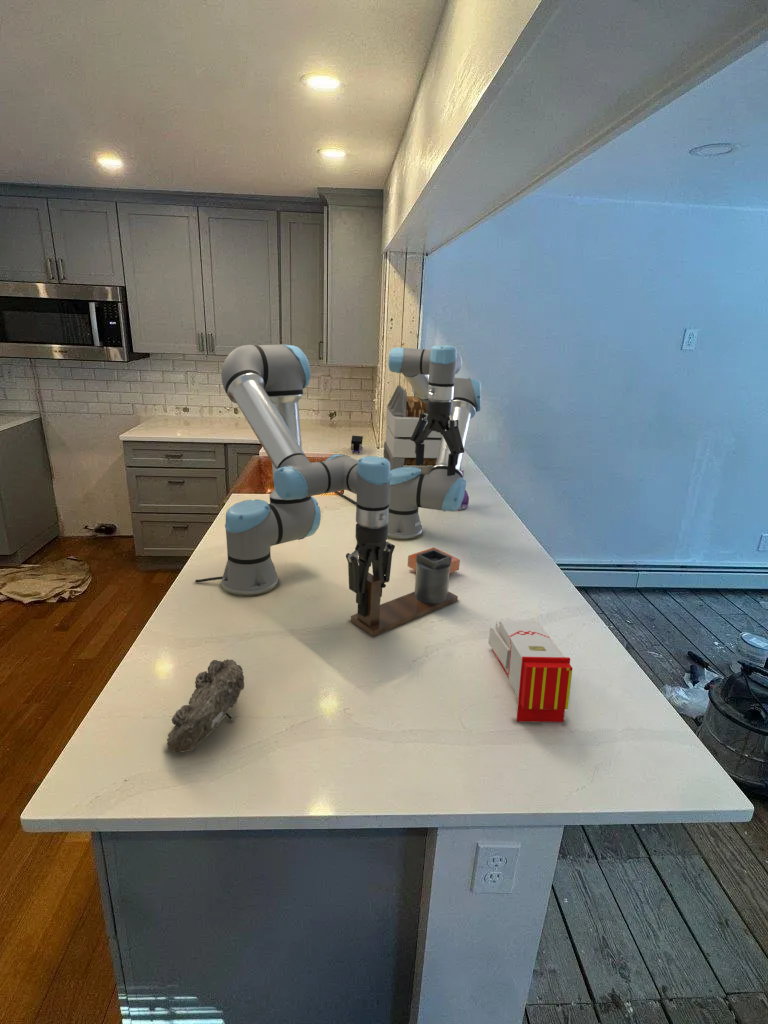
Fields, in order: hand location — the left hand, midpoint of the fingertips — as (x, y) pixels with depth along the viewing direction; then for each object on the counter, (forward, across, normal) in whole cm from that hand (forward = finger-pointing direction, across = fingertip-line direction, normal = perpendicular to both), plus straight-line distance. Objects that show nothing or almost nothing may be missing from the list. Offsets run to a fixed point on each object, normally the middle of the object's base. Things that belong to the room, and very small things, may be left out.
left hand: (368, 611), depth 140 cm
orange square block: (+4, +35, +12) cm, 37 cm away
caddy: (+4, +13, 0) cm, 14 cm away
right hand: (-25, +43, +22) cm, 54 cm away
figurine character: (+4, +109, +144) cm, 181 cm away
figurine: (+4, +87, +49) cm, 100 cm away
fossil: (+4, -44, -8) cm, 45 cm away
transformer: (+4, +108, +94) cm, 143 cm away
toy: (+4, +13, -37) cm, 39 cm away
